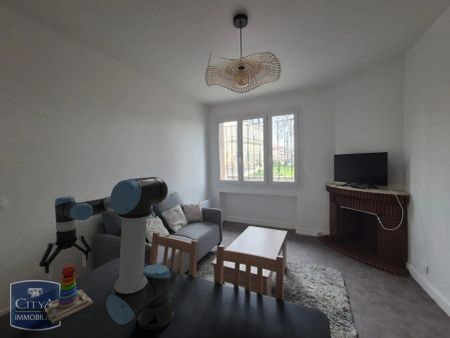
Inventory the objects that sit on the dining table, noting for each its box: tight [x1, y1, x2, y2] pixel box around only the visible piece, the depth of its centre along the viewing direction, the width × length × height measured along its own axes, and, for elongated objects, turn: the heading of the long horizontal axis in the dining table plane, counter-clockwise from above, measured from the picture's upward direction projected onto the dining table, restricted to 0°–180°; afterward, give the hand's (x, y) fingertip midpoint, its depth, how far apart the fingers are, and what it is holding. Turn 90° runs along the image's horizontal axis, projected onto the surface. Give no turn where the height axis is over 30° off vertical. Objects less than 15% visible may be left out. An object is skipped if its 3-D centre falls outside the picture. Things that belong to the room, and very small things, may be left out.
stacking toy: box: [58, 264, 78, 309], centre depth 100 cm, size 8×8×19 cm
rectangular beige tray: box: [42, 289, 94, 326], centre depth 101 cm, size 16×16×2 cm
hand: (68, 272), depth 100 cm, fingers open, 13 cm apart
